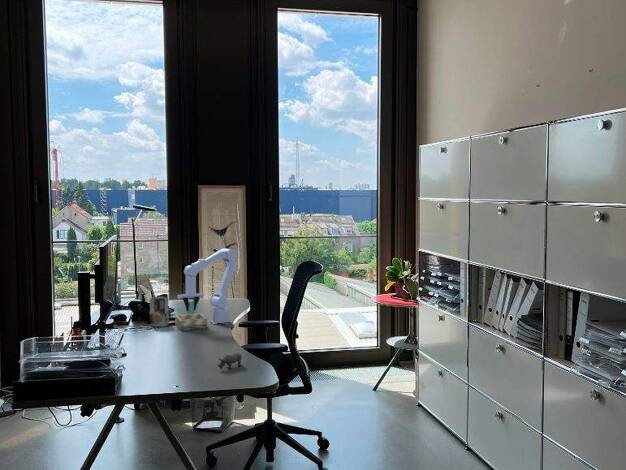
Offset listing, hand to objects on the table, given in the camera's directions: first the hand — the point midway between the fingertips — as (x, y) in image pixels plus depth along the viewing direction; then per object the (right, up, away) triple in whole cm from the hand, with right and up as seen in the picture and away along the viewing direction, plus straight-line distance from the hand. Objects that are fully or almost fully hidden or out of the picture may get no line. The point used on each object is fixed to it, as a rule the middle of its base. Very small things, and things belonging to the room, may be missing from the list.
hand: (190, 310), depth 332 cm
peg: (0, -2, 0) cm, 2 cm away
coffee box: (-19, -9, +3) cm, 21 cm away
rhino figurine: (+33, -15, -77) cm, 86 cm away
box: (0, -9, +1) cm, 9 cm away
